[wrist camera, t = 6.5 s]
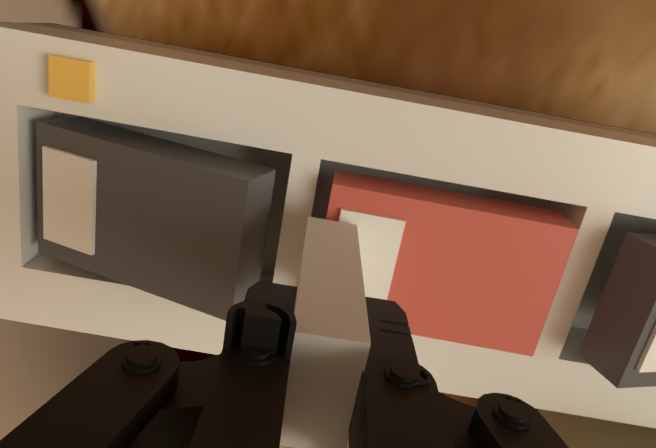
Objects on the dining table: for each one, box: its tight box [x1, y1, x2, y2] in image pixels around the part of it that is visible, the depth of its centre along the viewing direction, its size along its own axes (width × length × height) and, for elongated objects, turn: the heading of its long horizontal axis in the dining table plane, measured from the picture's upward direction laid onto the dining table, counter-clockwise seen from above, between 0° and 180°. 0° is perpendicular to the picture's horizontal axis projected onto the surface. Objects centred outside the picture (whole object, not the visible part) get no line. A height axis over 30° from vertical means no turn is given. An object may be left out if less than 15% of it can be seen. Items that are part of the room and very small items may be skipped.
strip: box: [0, 22, 656, 428], centre depth 20 cm, size 38×10×5 cm, turn 80°
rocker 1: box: [36, 116, 276, 321], centre depth 17 cm, size 8×5×2 cm, turn 80°
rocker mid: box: [326, 170, 579, 357], centre depth 18 cm, size 8×5×2 cm, turn 80°
